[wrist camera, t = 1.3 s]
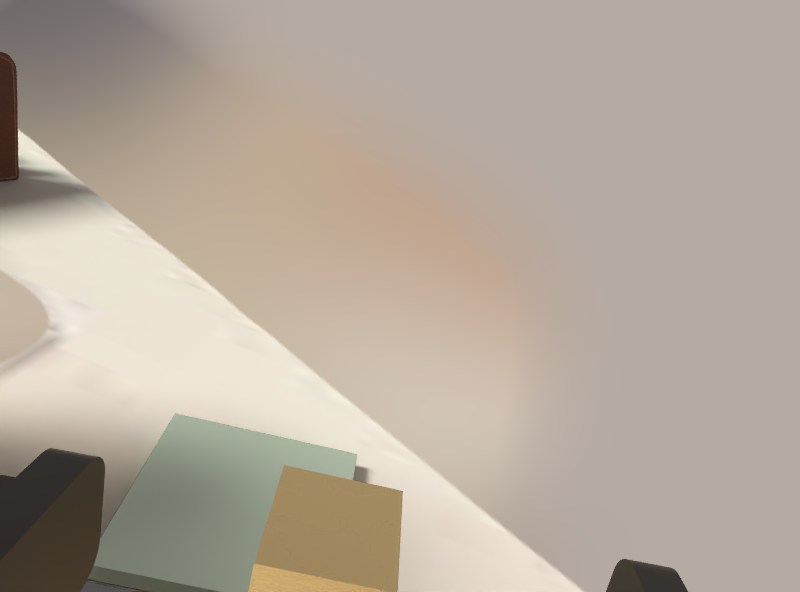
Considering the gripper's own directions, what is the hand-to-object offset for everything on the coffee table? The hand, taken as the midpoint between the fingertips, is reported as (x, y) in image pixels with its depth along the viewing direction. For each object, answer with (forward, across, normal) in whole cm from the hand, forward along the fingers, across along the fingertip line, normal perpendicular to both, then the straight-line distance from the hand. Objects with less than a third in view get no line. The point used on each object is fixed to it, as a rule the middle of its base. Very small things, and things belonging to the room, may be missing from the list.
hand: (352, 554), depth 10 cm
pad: (+23, +6, +17) cm, 29 cm away
